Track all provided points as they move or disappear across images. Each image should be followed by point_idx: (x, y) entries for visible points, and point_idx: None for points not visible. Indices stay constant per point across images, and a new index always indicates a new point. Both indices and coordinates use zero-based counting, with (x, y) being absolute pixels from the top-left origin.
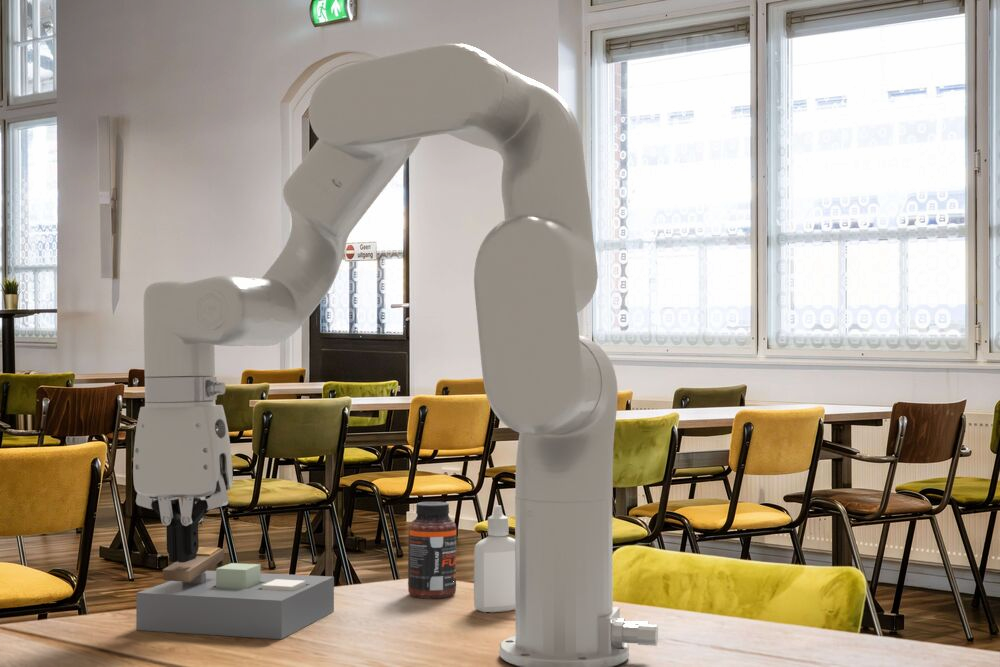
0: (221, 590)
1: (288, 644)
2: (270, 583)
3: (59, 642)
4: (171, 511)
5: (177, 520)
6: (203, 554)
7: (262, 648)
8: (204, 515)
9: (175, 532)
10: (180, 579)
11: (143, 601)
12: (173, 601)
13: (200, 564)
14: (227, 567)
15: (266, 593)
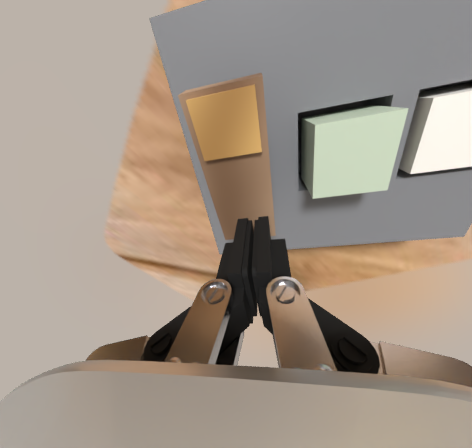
0: (330, 206)
1: None
2: (427, 151)
3: (200, 275)
4: (237, 354)
5: (249, 320)
6: (243, 154)
7: (404, 243)
8: (323, 310)
9: (256, 304)
10: None
11: None
12: None
13: (272, 199)
14: (332, 180)
15: (424, 201)
